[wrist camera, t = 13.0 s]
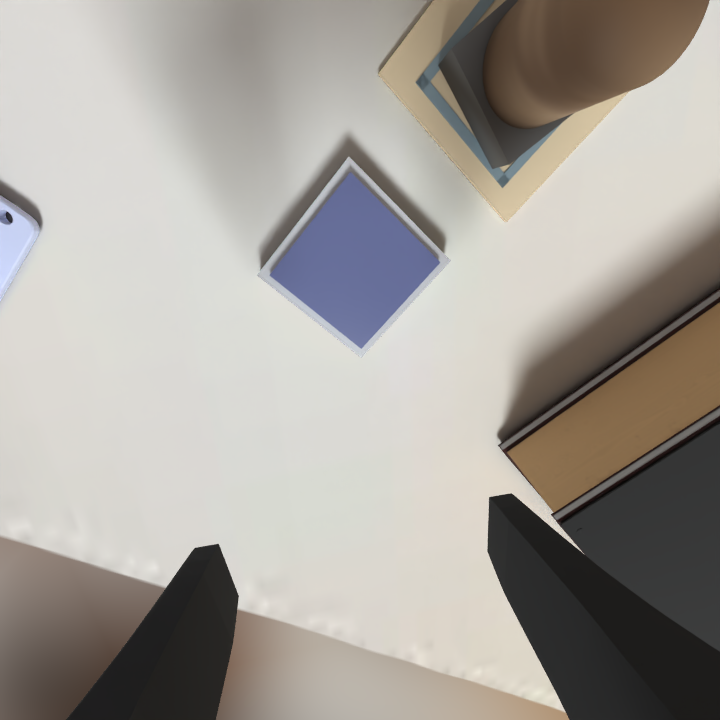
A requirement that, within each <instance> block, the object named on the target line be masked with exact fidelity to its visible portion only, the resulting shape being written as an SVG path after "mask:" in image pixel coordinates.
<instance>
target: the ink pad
mask: <svg viewBox="0 0 720 720" xmlns="http://www.w3.org/2000/svg"><path fill="white" fill-rule="evenodd" d="M450 261H451V260H450V259H449V258H448V257H447V256H446V255H445V254H444V253H443V252H442V251H441V250H440V249H439V248H438V247H437V246H436V245H435V244H434V243H433V242H432V241H431V240H430V239H429V238H428V237H427V236H426V235H425V234H424V233H423V232H422V231H421V230H420V229H419V228H418V227H417V226H416V224H415V223H414V222H413V221H412V220H411V219H410V218H409V217H408V216H407V215H406V214H405V213H404V212H403V211H402V210H401V209H400V208H399V207H398V206H397V205H396V204H395V203H394V202H393V201H392V200H391V199H390V198H389V197H388V196H387V195H386V194H385V193H384V192H383V191H382V190H381V189H380V188H379V187H378V186H377V185H376V184H375V183H374V181H373V180H372V179H371V178H370V177H369V176H368V175H367V174H366V173H365V172H364V171H363V170H362V169H361V168H360V167H359V166H358V165H357V164H356V163H355V162H354V161H353V160H352V159H351V158H350V157H348V158H347V159H346V161H345V162H344V163H343V165H342V166H341V167H340V168H339V170H338V171H337V172H336V174H335V175H334V176H333V177H332V179H331V180H330V181H329V183H328V184H327V185H326V187H325V188H324V189H323V190H322V192H321V193H320V194H319V196H318V197H317V198H316V199H315V201H314V202H313V203H312V205H311V206H310V207H309V208H308V210H307V211H306V212H305V214H304V215H303V216H302V218H301V219H300V220H299V221H298V223H297V224H296V225H295V227H294V228H293V229H292V230H291V232H290V233H289V234H288V236H287V237H286V238H285V239H284V241H283V242H282V243H281V245H280V246H279V247H278V249H277V250H276V251H275V252H274V254H273V255H272V256H271V258H270V259H269V260H268V261H267V263H266V264H265V265H264V267H263V268H262V269H261V270H260V272H259V273H258V274H257V276H258V277H260V278H261V279H262V280H264V281H265V282H266V283H267V284H269V285H270V286H271V287H272V288H274V289H275V290H276V291H277V292H279V293H280V294H281V295H282V296H284V297H285V298H286V299H288V300H289V301H290V302H291V303H293V304H294V305H295V306H296V307H298V308H299V309H300V310H301V311H303V312H304V313H305V314H307V315H308V316H309V317H310V318H312V319H313V320H314V321H315V322H317V323H318V324H319V325H320V326H322V327H323V328H324V329H325V330H327V331H328V332H329V333H331V334H332V335H333V336H334V337H336V338H337V339H338V340H339V341H341V342H342V343H343V344H344V345H346V346H347V347H348V348H350V349H351V350H352V351H353V352H355V353H356V354H357V355H358V356H360V357H361V358H362V357H363V355H364V354H365V353H366V352H367V351H368V350H369V349H370V348H371V347H372V346H373V345H374V344H375V342H376V341H377V340H378V339H379V338H380V337H381V336H382V335H383V334H384V333H385V332H386V331H387V329H388V328H389V327H390V326H391V325H392V324H393V323H394V322H395V321H396V320H397V319H398V317H399V316H400V315H401V314H402V313H403V312H404V311H405V310H406V309H407V308H408V307H409V306H410V304H411V303H412V302H413V301H414V300H415V299H416V298H417V297H418V296H419V295H420V294H421V293H422V291H423V290H424V289H425V288H426V287H427V286H428V285H429V284H430V283H431V282H432V281H433V280H434V278H435V277H436V276H437V275H438V274H439V273H440V272H441V271H442V270H443V269H444V268H445V266H446V265H447V264H448V263H449V262H450Z"/></svg>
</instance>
